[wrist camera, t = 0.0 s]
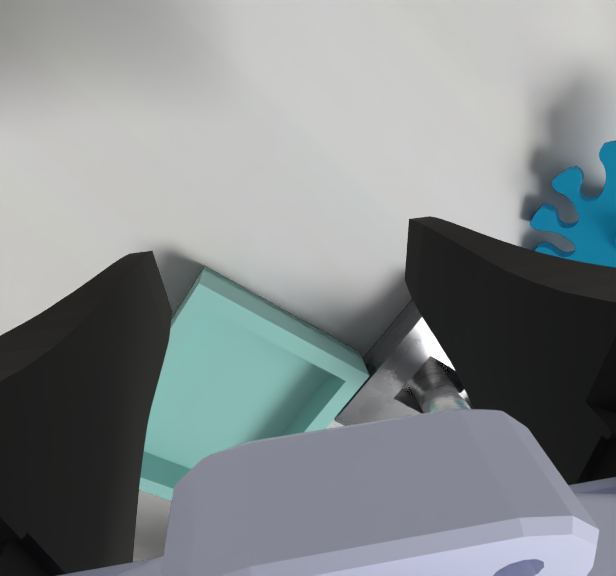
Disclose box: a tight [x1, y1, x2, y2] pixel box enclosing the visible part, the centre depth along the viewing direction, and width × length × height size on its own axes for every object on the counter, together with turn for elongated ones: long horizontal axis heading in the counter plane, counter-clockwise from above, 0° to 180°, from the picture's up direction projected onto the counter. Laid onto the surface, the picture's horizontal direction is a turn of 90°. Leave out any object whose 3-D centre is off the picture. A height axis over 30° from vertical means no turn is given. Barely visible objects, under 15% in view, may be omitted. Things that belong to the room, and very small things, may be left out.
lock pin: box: [407, 356, 471, 413], centre depth 23 cm, size 4×4×8 cm
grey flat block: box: [334, 299, 474, 426], centre depth 26 cm, size 10×14×4 cm
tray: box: [139, 266, 370, 501], centre depth 24 cm, size 14×11×2 cm
